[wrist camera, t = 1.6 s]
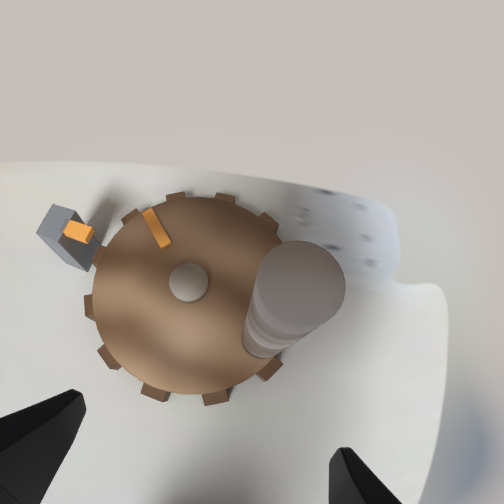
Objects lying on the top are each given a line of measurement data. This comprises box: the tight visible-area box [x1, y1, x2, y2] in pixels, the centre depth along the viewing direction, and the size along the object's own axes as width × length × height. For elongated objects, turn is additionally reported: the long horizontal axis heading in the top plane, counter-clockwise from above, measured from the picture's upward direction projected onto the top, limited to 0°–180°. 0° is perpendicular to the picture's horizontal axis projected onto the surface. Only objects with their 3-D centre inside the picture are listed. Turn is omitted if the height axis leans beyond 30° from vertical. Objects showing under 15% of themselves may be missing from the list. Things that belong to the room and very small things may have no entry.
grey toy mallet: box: [36, 204, 100, 272], centre depth 22 cm, size 3×6×6 cm, turn 75°
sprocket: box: [84, 192, 345, 406], centre depth 17 cm, size 19×19×14 cm
